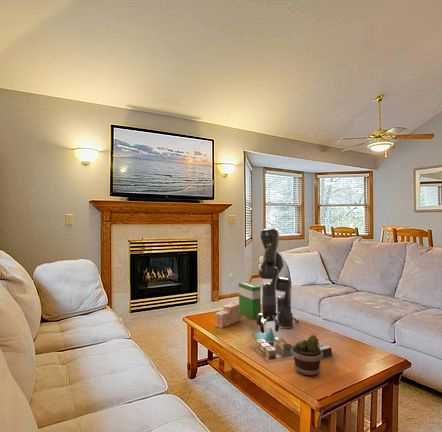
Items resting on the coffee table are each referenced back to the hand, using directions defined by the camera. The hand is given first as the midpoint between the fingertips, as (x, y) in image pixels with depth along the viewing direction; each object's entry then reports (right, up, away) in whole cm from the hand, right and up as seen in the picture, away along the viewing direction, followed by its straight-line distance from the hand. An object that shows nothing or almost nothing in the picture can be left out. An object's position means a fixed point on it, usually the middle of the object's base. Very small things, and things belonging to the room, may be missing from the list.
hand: (269, 332), depth 166 cm
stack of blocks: (-17, -14, +51) cm, 55 cm away
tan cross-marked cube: (0, -12, 0) cm, 12 cm away
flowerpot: (+14, -13, -17) cm, 26 cm away
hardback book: (+2, -13, +67) cm, 68 cm away
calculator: (+26, -13, +4) cm, 29 cm away
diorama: (+4, -13, +23) cm, 27 cm away
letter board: (+5, -13, +5) cm, 15 cm away
